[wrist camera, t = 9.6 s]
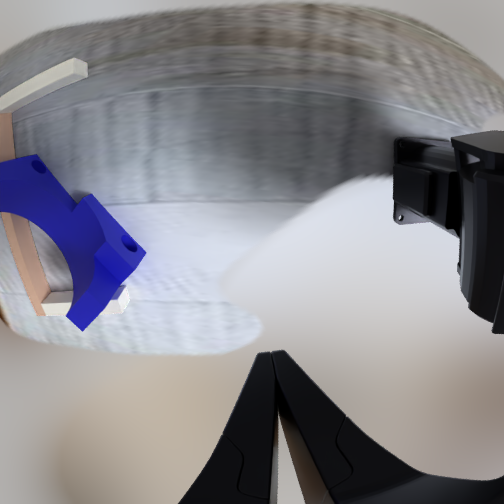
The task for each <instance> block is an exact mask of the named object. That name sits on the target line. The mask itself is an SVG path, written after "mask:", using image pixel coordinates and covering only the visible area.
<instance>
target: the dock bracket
mask: <svg viewBox="0 0 504 504" xmlns="http://www.w3.org/2000/svg"><path fill="white" fill-rule="evenodd" d="M85 78H88V63H87V62H84V61H82V60H79V59H77V58H72V59H69V60H67V61H65V62H63V63H61V64H58V65H56V66H54V67H52V68H50V69H48V70H46V71H44V72H42V73H40V74H38V75H36V76H35V77H33V78H31V79H29V80H27V81H26V82H24V83H22V84H20V85H19V86H17V87H15V88H14V89H12V90H10V91H9V92H7V93H6V94H4V95H3V96H1V97H0V162H4V161H8V160H12V159H16V157H15V149H14V140H13V128H12V113H13V112H14V111H16V110H18V109H20V108H22V107H23V106H25V105H27V104H29V103H31V102H33V101H35V100H37V99H39V98H41V97H43V96H45V95H47V94H49V93H52V92H54V91H56V90H58V89H60V88H63V87H65V86H67V85H70V84H72V83H75V82H77V81H80V80H82V79H85ZM1 215H2V219H3V223H4V227H5V230H6V234H7V237H8V241H9V244H10V247H11V250H12V253H13V256H14V259H15V262H16V265H17V268H18V271H19V274H20V276H21V279H22V281H23V284H24V286H25V289H26V291H27V294H28V296H29V299H30V301H31V303H32V305H33V308H34V310H35V312H36V314H37V316H66V314H67V313H68V311H69V309H70V307H71V303H72V300H73V291H74V290H73V291H60V292H51V290H50V287H49V284H48V282H47V279H46V276H45V274H44V271H43V268H42V265H41V262H40V259H39V256H38V253H37V250H36V247H35V244H34V240H33V237H32V234H31V230H30V226H29V223H28V219H26V218H24V217H21V216H19V215H16V214H12V213H7V212H1ZM129 301H130V297H129V294H128V291H127V288H126V286H122V287H119V288H118V289H117V291H116V292H115V294H114V295H113V297H112V299H111V300H110V302H109V303H108V305H107V306H106V308H105V309H104V310H103V311H102V312H101V313H100V314H121V313H123V312H124V310H125V308H126V306H127V304H128V302H129Z"/></svg>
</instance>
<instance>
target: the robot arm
mask: <svg viewBox="0 0 504 504" xmlns="http://www.w3.org/2000/svg"><path fill="white" fill-rule="evenodd" d="M400 142H402V144H403V145H402V147H400ZM453 148H454V149H453ZM394 159H395V165H394V167H393V200H394V213H393V219H394V221H395V222H396V223H398V224H399V225H403V224H413V223H423V222H431V223H433V224H435V225H437V226H438V227H440V228H442V229H444V230H446V231H447V232H449V233H451V234H452V235H454V236H456V237H457V238H459V239H460V249H459V262H458V264H457V272H458V273H459V275H460V286H461V291H462V293H463V295H464V297H465V298H466V300H467V301H468V302H469V304H468V308H469V309H470V310H471V311H472V312H474V313H475V314H476V315H478V316H479V317H481V318H482V319H484V320H486V321H488V322H491V323H493V327H492V333H494V334H504V131H487V132H480V133H474V134H467V135H462V136H456V137H451V142H446V141H437V140H427V139H415V138H401V137H399V138H396V139H395V141H394ZM400 215H401V219H400V220H399V219H398V218H399V216H400ZM278 413H279V417H280V421H281V425H282V428H283V431H284V435H285V438H286V441H287V445H288V448H289V452H290V455H291V458H292V461H293V465H294V468H295V471H296V474H297V478H298V481H299V484H300V488H301V491H302V494H303V497H304V500H305V504H504V475H503V476H502V477H500V478H497V479H493V480H487V481H486V480H483V481H481V480H469V479H458V478H451V477H443V476H437V475H431V474H427V473H424V472H421V471H418V470H416V469H414V468H413V467H411V466H409V465H408V464H406V463H405V462H403V461H402V460H401V459H399V458H397V457H396V456H395V455H393V454H392V453H390V452H389V451H388V450H386V449H385V448H384V447H382V446H381V445H379V444H378V443H377V442H375V441H374V440H373V439H372V438H370V437H369V436H368V435H367V434H366V433H364V432H363V431H362V430H361V429H360V428H359V427H358V426H357V425H356V424H355V423H354V422H353V421H352V420H351V419H350V418H349V417H346V414H345V413H344V412H343V411H342V410H341V409H340V408H339V407H338V406H337V405H336V404H335V403H334V402H333V401H332V400H331V399H330V398H329V397H328V396H327V395H326V394H325V393H324V392H323V391H322V390H321V389H320V388H319V386H318V385H317V384H316V383H315V382H314V381H313V380H312V379H311V378H310V377H309V376H308V375H307V374H306V373H305V372H304V371H303V369H302V368H301V367H299V365H298V364H297V363H296V362H295V361H294V360H293V359H292V358H291V357H290V355H289V354H288V353H287V352H286V351H285V350H277V351H272V352H271V353H270V352H261V353H258V354H257V355H256V358H255V360H254V363H253V365H252V367H251V370H250V372H249V374H248V377H247V379H246V381H245V384H244V386H243V388H242V390H241V393H240V395H239V397H238V400H237V402H236V404H235V406H234V409H233V411H232V413H231V415H230V418H229V420H228V422H227V424H226V427H225V429H224V431H223V435H221V437H220V439H219V441H218V444H217V445H216V448H215V449H214V451H213V453H212V455H211V457H210V459H209V460H208V462H207V464H206V465H205V467H204V468H203V470H202V471H201V473H200V474H199V476H198V477H197V479H196V480H195V481H194V483H193V484H192V485H191V487H190V488H189V490H188V491H187V492H186V494H185V495H184V496H183V498H182V499H181V500H180V502H179V503H178V504H277V489H278Z"/></svg>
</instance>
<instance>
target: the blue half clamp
mask: <svg viewBox="0 0 504 504" xmlns="http://www.w3.org/2000/svg"><path fill="white" fill-rule="evenodd" d="M0 212H7V213H12V214H16V215H19V216H21V217H24V218H26V219H28V220H29V221H31V222H33V223H34V224H36V225H37V226H39V227H40V228H41V229H42V230H43V231H45V232H46V233H47V234H48V235H49V236H50V237H51V238H52V240H53V241H54V242H55V243H56V245H57V246H58V247H59V249H60V250H61V252H62V253H63V255H64V257H65V259H66V261H67V263H68V266H69V268H70V271H71V275H72V279H73V290H74V291H73V300H72V303H71V307H70V309H69V311H68V313H67V314H66V317H67V318H68V319H70V320H71V321H72V322H73V323H74V324H75V325H76V326H77V327H78V328H79V329H80V330H81V331H82V332H83V331H84V330H85V328H86V327H87V326H88V325H89V324H90V323H91V322H92V321H93V320H94V319H95V318H96V317H97V316H98V315H99V314H100V313H101V312H102V311H103V310H104V309H105V308H106V306H107V305H108V303H109V302H110V300H111V299H112V297H113V295H114V294H115V292H116V291H117V289H118V288H119V286H120V285H121V283H122V282H123V281H124V280H125V279H126V278H127V277H128V276H129V275H130V274H131V273H132V272H133V271H134V270H135V269H136V268H137V266H138V265H139V263H140V262H141V260H142V259H143V257H144V256H145V254H146V252H145V251H144V250H143V249H142V248H141V247H140V245H139V244H138V243H137V242H136V241H135V240H134V239H133V238H132V237H131V236H130V235H129V234H128V233H127V232H126V231H125V230H124V229H123V228H122V227H121V226H120V225H119V223H118V222H117V221H116V220H115V219H114V218H113V217H112V216H111V215H110V214H109V213H108V212H107V210H106V209H105V208H104V207H103V206H102V205H101V204H100V203H99V202H98V200H97V199H96V198H95V197H94V196H93V195H92V194H90V195H88V196H86V197H83V198H82V200H81V201H80V202H79V204H77V203H76V202H75V201H74V200H73V199H72V198H71V196H70V195H69V194H68V193H67V192H66V190H65V189H64V188H63V187H62V186H61V184H60V183H59V182H58V181H57V179H56V178H55V177H54V176H53V175H52V173H51V172H50V171H49V170H48V168H47V167H46V166H45V164H44V163H43V162H42V161H41V159H40V158H39V157H38V155H37V154H36V155H31V156H26V157H21V158H17V159H12V160H8V161H4V162H0Z"/></svg>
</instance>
